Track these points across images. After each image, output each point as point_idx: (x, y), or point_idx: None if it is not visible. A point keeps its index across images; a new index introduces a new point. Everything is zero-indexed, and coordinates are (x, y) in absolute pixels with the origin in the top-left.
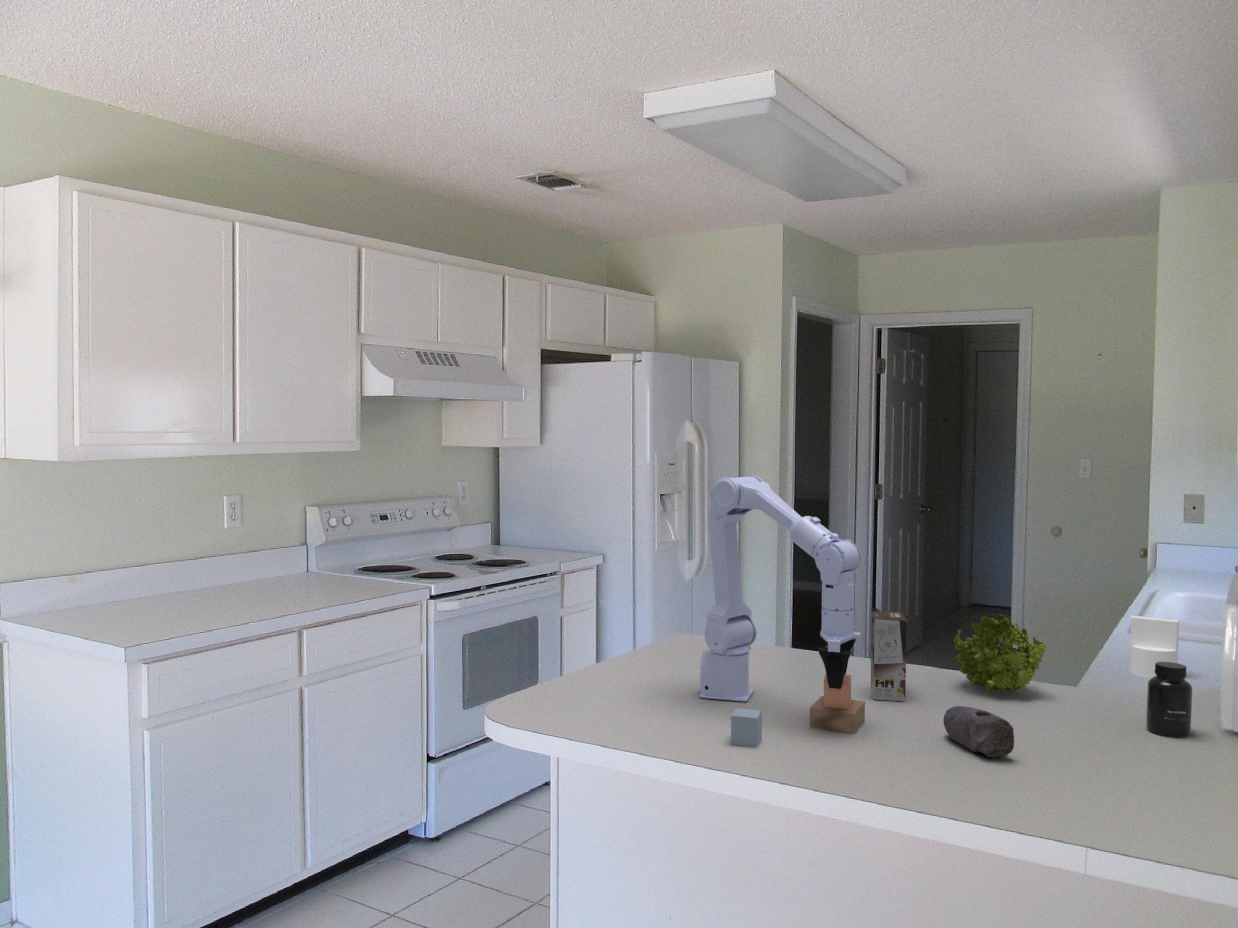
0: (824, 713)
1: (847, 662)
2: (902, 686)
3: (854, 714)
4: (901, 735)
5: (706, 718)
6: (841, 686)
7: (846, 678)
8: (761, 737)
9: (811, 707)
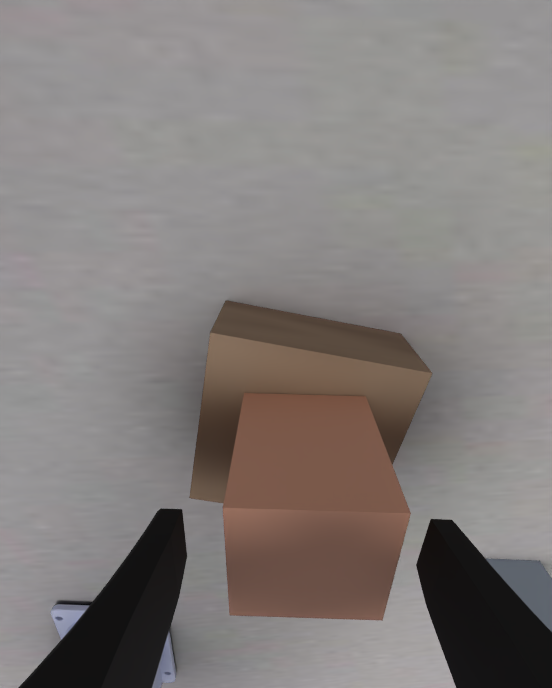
0: None
1: (137, 610)
2: None
3: (431, 372)
4: (397, 129)
5: (326, 651)
6: (459, 530)
7: (331, 528)
8: None
9: None
